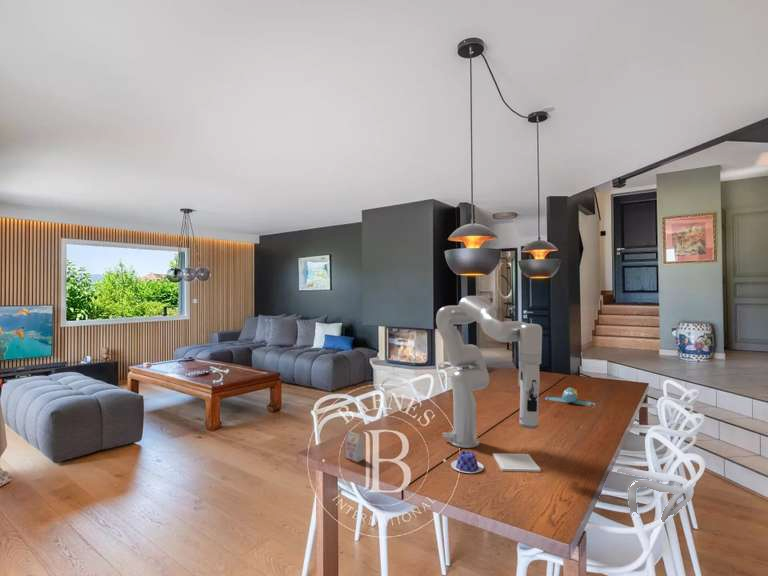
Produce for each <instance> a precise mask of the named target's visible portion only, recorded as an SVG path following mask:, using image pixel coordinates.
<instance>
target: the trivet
mask: <svg viewBox="0 0 768 576" xmlns="http://www.w3.org/2000/svg"><path fill="white" fill-rule="evenodd" d="M492 457H493V458H494V460H495V462H496V464H497V465H498V467H499V469H500V471H502V472H529V473H531V472H533V473H535V472H542V469H541V468H540V466H539V465H537V463H536V462H535V461H534V460H533V458H532V457H531V455H530V454H529V453H494V452H493V453H492Z"/></svg>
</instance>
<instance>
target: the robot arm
mask: <svg viewBox="0 0 768 576" xmlns="http://www.w3.org/2000/svg"><path fill="white" fill-rule="evenodd" d="M492 305H493V304H492V302H491V300H490V299H489V298H488V297H486V296H485V295H467V296H464V297H462V298H461V299H460V300H459V302H458V305H446V306H442V307H441V308H439V309H438V310H437V312H436V317H435V323H436V328H437V330H438V332H439V335H440V336H441V340H442V341H443V346H444V349H445V353H446V356H447V359H448V362H449V365H450V366H452V368H453V367H454V368H460V369H459V370H456V371H454V372H453V373H452V374H451V377H450V383H451V384H450V385H451V388H452V397H453V398H452V399H453V404H452V405H453V412H452V413H453V417H452V418H453V429H451V431H449V432H442V438H445V439H446V440H447V439H449V443H450V444H451V445H452V446H454V447H458V448H461V449H462V448H463V449H472V448H476V447H478V446H480V440H479V438H477V426H476V425H477V423H476V421H477V413H476V412H477V402H476V398H475V396H474V394H473V392H474V391H479V390H480V391H481V390H483V389H486V388H487V387H488V386H489V384H490V375H489V371H488V369H487V365H486V362H485V359H484V356H483V353H482V351H481V349H480V348H479V347H478V346H477V345H475V344H471V343H469V344H465V342H464V341H463V337H462V334H461V333H460V331H459V329H457V328H456V326H455V325H466V324H467V325H468V324H471V323H473V322H476V323H478V324H479V325H480V327H481V329H482V331H483V333H484V334H485V335H487V337H490V338H491V339H493V340H494V341H497V342H500V343H512V342H519V347H518V348H519V349H518V351H519V353H518V354H519V355H518V362H519V367H518V377H517V378H518V381H517V384H518V387H519V388H520V384H521V372H523V377H522V378H523V381H522V382H523V383H522V389H523V390H524V391H525V392H527V391H528V399H529V400H527V411H531V412H536V411H537V397H538V391H540V387H541V386H540V385H541V383H540V380H541V378H540V377H541V375H540V365H541V364H542V354H543V353H542V349H543V345H542V344H543V342H542V341H543V327H542V326H541V324H538V323H527V322H524V321H521V320H514V321H510V320H509V321H501V320H499V319H497V311H496V309H495V307H493V306H492ZM462 367H468V368H463V369H461V368H462ZM530 389H533V391H530ZM530 393H533V394H532V395H531V394H530Z"/></svg>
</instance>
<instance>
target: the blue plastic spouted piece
mask: <svg viewBox="0 0 768 576" xmlns="http://www.w3.org/2000/svg"><path fill="white" fill-rule="evenodd" d="M577 392H578V390H577V389H575V388H573V387H570V386H569V387H567V388H566V389H564V391H563V392H562V395H561V397H555V396H554V397H553V396H552V397H551V396H546V397H545V398H544V400H546V401H547V400H548V401H553V402H561V403H569V404H570V403H571V404H577V405H583V406H590V405H591V404H593V405H596V404H597V403H596V402H591V401H586V400H581V399H578V393H577ZM595 403H596V404H595ZM596 406H597V405H596Z"/></svg>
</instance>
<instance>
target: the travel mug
mask: <svg viewBox="0 0 768 576" xmlns="http://www.w3.org/2000/svg"><path fill="white" fill-rule="evenodd" d="M522 377H523V372H521V384H520V387H519V388H520V389H519V390H520V395H519V421H518V422H519V426H520V427H521V428H524V429H530V430H534V429H537V428H538V427H539V406H540V405H539V401H540V398H539V397H540V396H539V394H540V392H539V391H540V390H539V391H538V397H537V411H536V412H531V411H527V400H529V399H528V391H527V392H525V391H524V390H523V389H522V383H523V382H522V381H523V378H522ZM530 391H533V389H530ZM530 394H531V395H532V394H533V393H530Z"/></svg>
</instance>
